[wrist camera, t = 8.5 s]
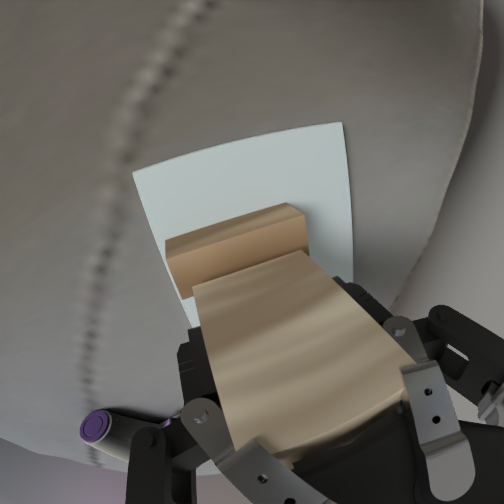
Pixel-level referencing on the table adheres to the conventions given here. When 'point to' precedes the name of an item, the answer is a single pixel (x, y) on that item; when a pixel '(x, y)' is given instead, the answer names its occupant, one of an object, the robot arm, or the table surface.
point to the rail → (234, 245)
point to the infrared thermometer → (114, 432)
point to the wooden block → (296, 358)
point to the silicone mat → (257, 191)
